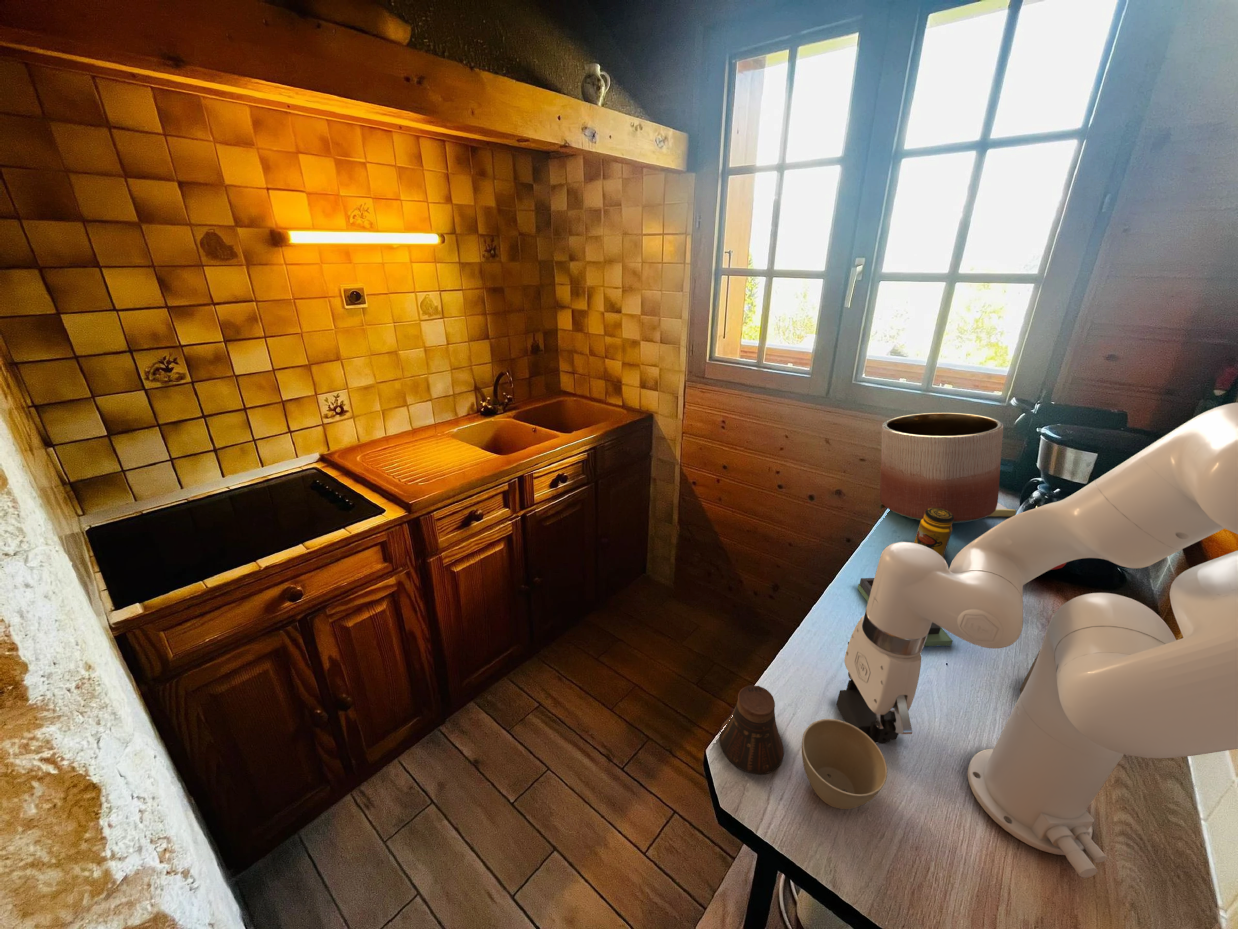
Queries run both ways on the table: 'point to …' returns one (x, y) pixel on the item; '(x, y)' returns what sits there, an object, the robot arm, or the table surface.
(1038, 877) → the table surface
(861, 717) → the loose pad
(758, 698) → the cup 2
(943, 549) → the condiment
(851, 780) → the beige bowl
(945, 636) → the dock
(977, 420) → the planter
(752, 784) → the table surface
